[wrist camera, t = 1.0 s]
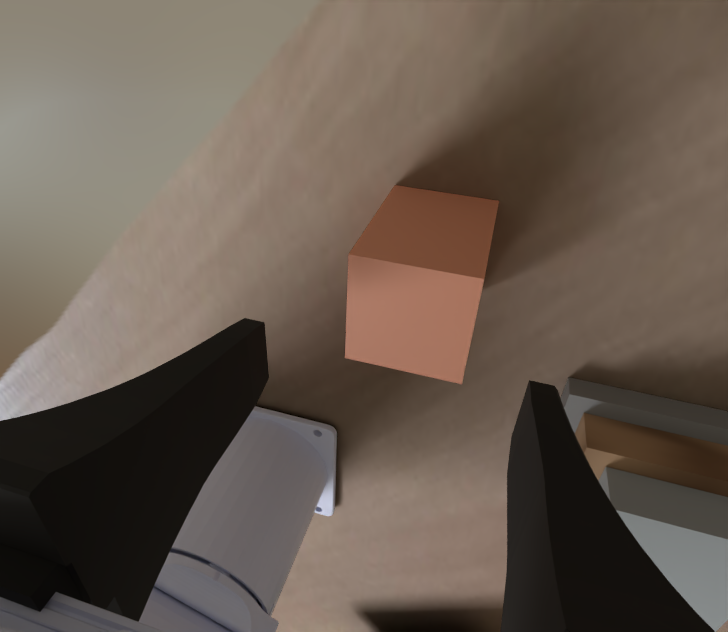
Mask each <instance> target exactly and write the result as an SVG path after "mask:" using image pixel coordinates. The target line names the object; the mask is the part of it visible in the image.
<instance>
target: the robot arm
mask: <svg viewBox="0 0 728 632" xmlns="http://www.w3.org/2000/svg"><path fill="white" fill-rule="evenodd" d="M268 378H269V374H268V362H267V349H266V337H265V324H264V322H260V321H255V320H251V319H246V318H244V319H242V320H240V321H238V322H237V323H235V324H233V325H231V326H230V327H228V328H226V329H224V330H223V331H221V332H219V333H218V334H216V335H214V336H213V337H211V338H209V339H208V340H206V341H204V342H203V343H201V344H199V345H197V346H196V347H194V348H192V349H190V350H189V351H187V352H185V353H183V354H182V355H180V356H178V357H176V358H174V359H172V360H170V361H168V362H166V363H164V364H162V365H161V366H159V367H157V368H155V369H153V370H151V371H149V372H147V373H145V374H143V375H140V376H138V377H136V378H134V379H132V380H129V381H127V382H125V383H122V384H120V385H117V386H115V387H113V388H110V389H108V390H105V391H102V392H99V393H96V394H94V395H91V396H88V397H85V398H82V399H79V400H77V401H74V402H71V403H68V404H64V405H61V406H58V407H54V408H51V409H48V410H44V411H40V412H36V413H33V414H29V415H25V416H21V417H17V418H12V419H8V420H3V421H0V632H275V631H276V629H277V626H278V624H279V623H278V621H277V620H275V619H274V618H272V617H271V615H272V613H273V610H274V608H275V605H276V603H277V601H278V598H279V596H280V593H281V591H282V589H283V586H284V584H285V581H286V579H287V577H288V574H289V572H290V569H291V567H292V565H293V562H294V560H295V558H296V555H297V553H298V550H299V548H300V546H301V543H302V541H303V538H304V536H305V534H306V531H307V529H308V526H309V524H310V522H311V519H312V517H313V514H314V512H315V513H318V514H322V515H325V516H331V515H333V513H334V510H335V488H336V449H337V431H336V430H335V428H334V427H332V426H330V425H328V424H324V423H320V422H316V421H312V420H308V419H304V418H300V417H296V416H292V415H288V414H284V413H280V412H276V411H272V410H268V409H265V408H261V407H257V406H255V405H256V403H257V401H258V399H259V397H260V395H261V393H262V391H263V389H264V387H265V385H266V382H267V380H268ZM318 430H319V431H318ZM501 632H715V631H714V630H713V629H712V628H711V627H710V626H709V625H708V624H707V623H706V622H705V621H704V620H703V619H702V618H701V617H700V616H699V615H698V614H697V612H696V611H695V610H694V609H693V608H692V607H691V606H690V605H689V604H688V602H687V601H686V600H685V599H684V598H683V597H682V596H681V595H680V593H679V592H678V591H677V590H676V589H675V588H674V587H673V586H672V584H671V583H670V582H669V581H668V580H667V578H666V577H665V576H664V575H663V573H662V572H661V571H660V570H659V568H658V567H657V566H656V565H655V563H654V562H653V561H652V560H651V558H650V557H649V556H648V555H647V553H646V552H645V551H644V549H643V548H642V547H641V546H640V544H639V543H638V541H637V540H636V539H635V537H634V536H633V534H632V533H631V532H630V530H629V529H628V527H627V526H626V525H625V523H624V521H623V520H622V518H621V517H620V515H619V514H618V512H617V511H616V509H615V508H614V506H613V505H612V503H611V501H610V500H609V498H608V497H607V495H606V493H605V491H604V490H603V488H602V486H601V485H600V483H599V481H598V479H597V477H596V476H595V474H594V472H593V470H592V468H591V466H590V464H589V462H588V461H587V459H586V457H585V454H584V452H583V450H582V448H581V446H580V444H579V442H578V440H577V438H576V436H575V433H574V431H573V429H572V427H571V424H570V422H569V419H568V417H567V415H566V412H565V409H564V407H563V404H562V401H561V399H560V396H559V393H558V390H557V389H556V387H555V386H552V385H548V384H543V383H539V382H534V381H530V380H529V383H528V386H527V389H526V393H525V396H524V399H523V402H522V405H521V409H520V412H519V415H518V418H517V421H516V424H515V428H514V431H513V434H512V438H511V446H510V454H509V463H508V472H507V574H506V585H505V595H504V605H503V615H502V624H501Z"/></svg>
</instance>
